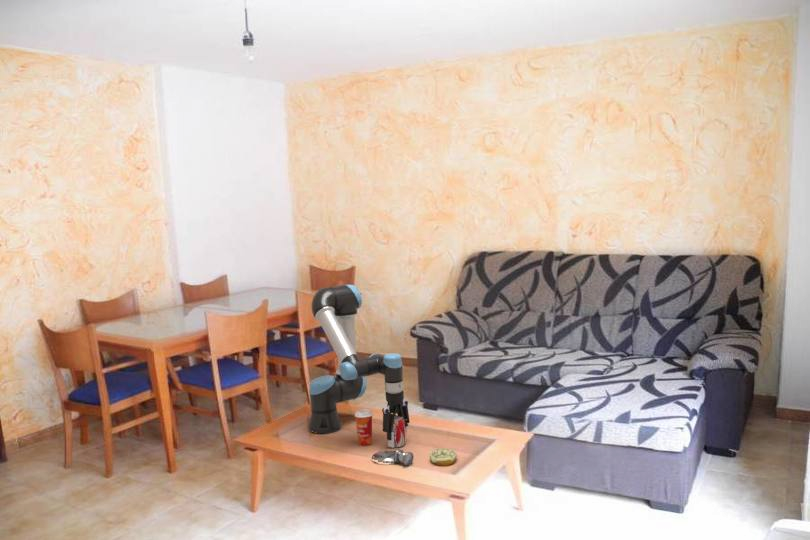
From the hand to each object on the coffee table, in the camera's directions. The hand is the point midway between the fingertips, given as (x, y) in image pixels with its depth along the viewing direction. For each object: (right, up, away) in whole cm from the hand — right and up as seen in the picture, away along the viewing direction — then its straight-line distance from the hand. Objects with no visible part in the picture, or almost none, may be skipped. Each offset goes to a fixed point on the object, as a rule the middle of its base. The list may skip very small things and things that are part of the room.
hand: (397, 443), depth 274 cm
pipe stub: (+3, -3, -19) cm, 20 cm away
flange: (-4, -2, -14) cm, 14 cm away
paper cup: (-14, -1, +4) cm, 14 cm away
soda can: (0, -1, 0) cm, 1 cm away
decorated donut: (+18, -2, -18) cm, 26 cm away
